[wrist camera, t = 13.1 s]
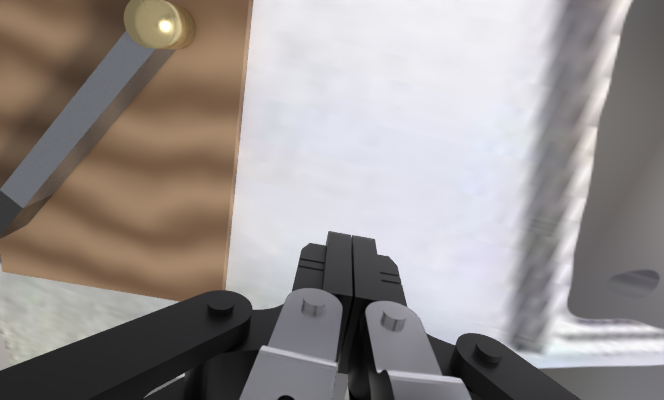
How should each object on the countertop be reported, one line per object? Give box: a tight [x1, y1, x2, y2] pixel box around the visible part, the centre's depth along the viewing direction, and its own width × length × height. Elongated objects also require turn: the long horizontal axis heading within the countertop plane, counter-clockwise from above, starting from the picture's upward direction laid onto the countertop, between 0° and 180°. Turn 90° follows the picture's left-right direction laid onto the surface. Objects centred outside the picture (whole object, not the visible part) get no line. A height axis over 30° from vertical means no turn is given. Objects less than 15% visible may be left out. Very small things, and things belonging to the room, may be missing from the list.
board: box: [0, 0, 253, 301], centre depth 39 cm, size 32×24×2 cm
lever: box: [0, 0, 196, 239], centre depth 35 cm, size 28×4×5 cm, turn 133°
